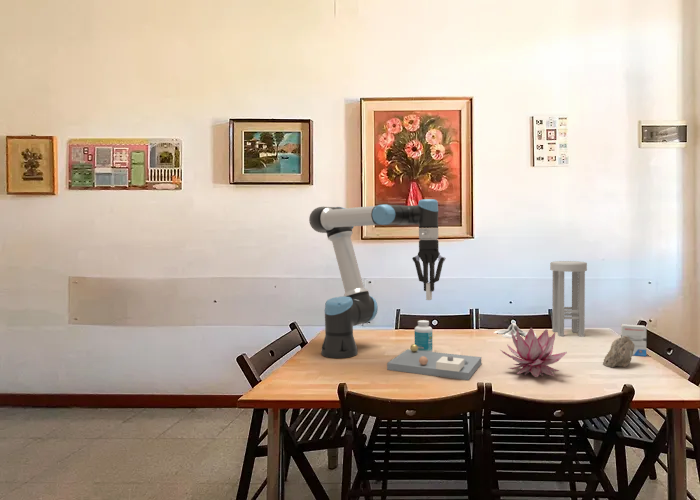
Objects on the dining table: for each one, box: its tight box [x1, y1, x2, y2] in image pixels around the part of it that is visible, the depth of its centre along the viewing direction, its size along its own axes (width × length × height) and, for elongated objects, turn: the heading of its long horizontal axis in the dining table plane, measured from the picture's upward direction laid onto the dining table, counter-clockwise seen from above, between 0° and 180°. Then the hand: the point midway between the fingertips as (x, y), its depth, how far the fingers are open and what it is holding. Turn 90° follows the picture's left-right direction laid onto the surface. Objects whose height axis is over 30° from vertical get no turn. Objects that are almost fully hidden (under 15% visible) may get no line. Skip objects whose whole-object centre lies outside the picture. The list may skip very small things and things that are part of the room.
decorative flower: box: [500, 327, 568, 378], centre depth 167 cm, size 21×21×15 cm
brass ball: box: [409, 343, 418, 352], centre depth 190 cm, size 3×3×3 cm
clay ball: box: [419, 356, 428, 365], centre depth 171 cm, size 3×3×3 cm
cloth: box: [493, 322, 538, 340], centre depth 231 cm, size 22×19×6 cm
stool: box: [549, 260, 588, 338], centre depth 228 cm, size 16×16×35 cm
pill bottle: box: [414, 319, 433, 352], centre depth 197 cm, size 8×7×14 cm
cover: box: [436, 356, 464, 372], centre depth 167 cm, size 8×8×4 cm
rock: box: [602, 336, 635, 368], centre depth 176 cm, size 14×10×8 cm
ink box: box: [620, 323, 648, 357], centre depth 191 cm, size 8×5×12 cm, turn 65°
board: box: [386, 348, 482, 381], centre depth 178 cm, size 30×22×2 cm
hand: (429, 299), depth 184 cm, fingers closed
